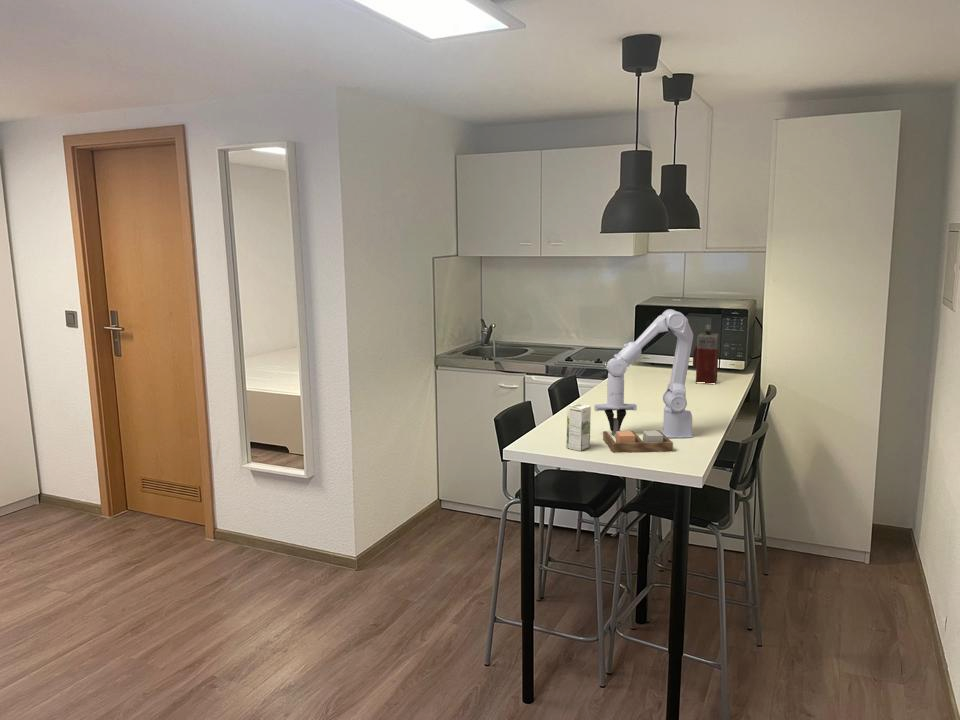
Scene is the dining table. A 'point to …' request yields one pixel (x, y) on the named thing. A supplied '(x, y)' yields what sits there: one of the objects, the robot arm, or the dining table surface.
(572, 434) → the syrup box
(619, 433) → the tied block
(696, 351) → the red liquid bottle
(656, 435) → the grey block
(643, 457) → the dining table surface
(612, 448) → the wooden divided tray
